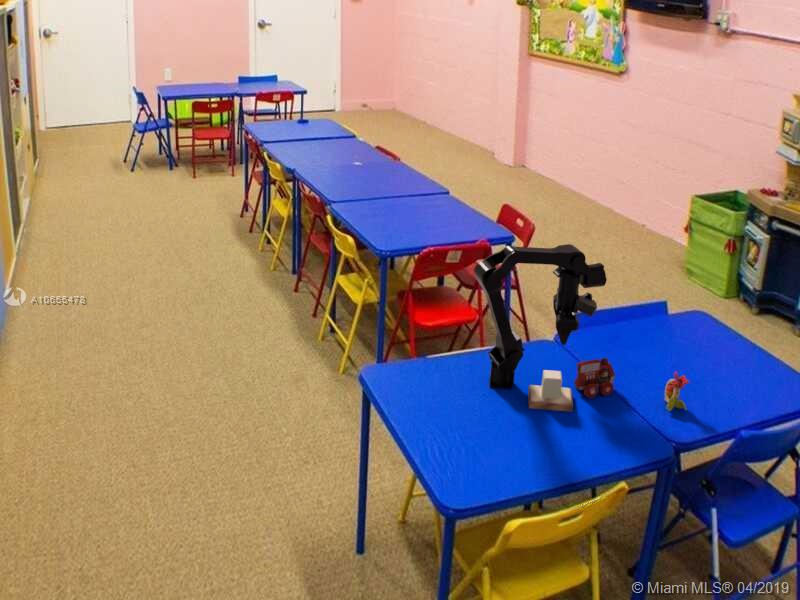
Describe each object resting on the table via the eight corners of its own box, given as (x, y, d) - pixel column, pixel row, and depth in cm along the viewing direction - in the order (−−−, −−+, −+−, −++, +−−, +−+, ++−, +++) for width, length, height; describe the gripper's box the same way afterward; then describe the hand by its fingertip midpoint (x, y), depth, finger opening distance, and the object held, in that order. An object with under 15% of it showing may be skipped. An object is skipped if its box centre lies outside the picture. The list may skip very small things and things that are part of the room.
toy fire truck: (618, 393, 244) (623, 362, 240) (581, 400, 240) (585, 368, 236) (605, 382, 250) (610, 351, 246) (568, 388, 246) (572, 357, 242)
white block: (541, 397, 236) (544, 378, 234) (541, 388, 241) (543, 369, 238) (559, 399, 236) (562, 379, 233) (558, 389, 240) (561, 370, 238)
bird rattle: (655, 408, 241) (669, 413, 232) (654, 369, 241) (669, 373, 232) (676, 407, 242) (691, 412, 233) (675, 368, 242) (690, 372, 233)
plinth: (528, 408, 236) (529, 400, 235) (528, 391, 244) (529, 384, 243) (572, 411, 235) (573, 404, 234) (570, 394, 243) (571, 387, 242)
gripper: (600, 304, 231) (593, 354, 238) (593, 277, 248) (587, 325, 255) (559, 301, 232) (553, 351, 239) (555, 275, 249) (550, 322, 256)
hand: (562, 337), depth 247 cm, fingers open, 9 cm apart
